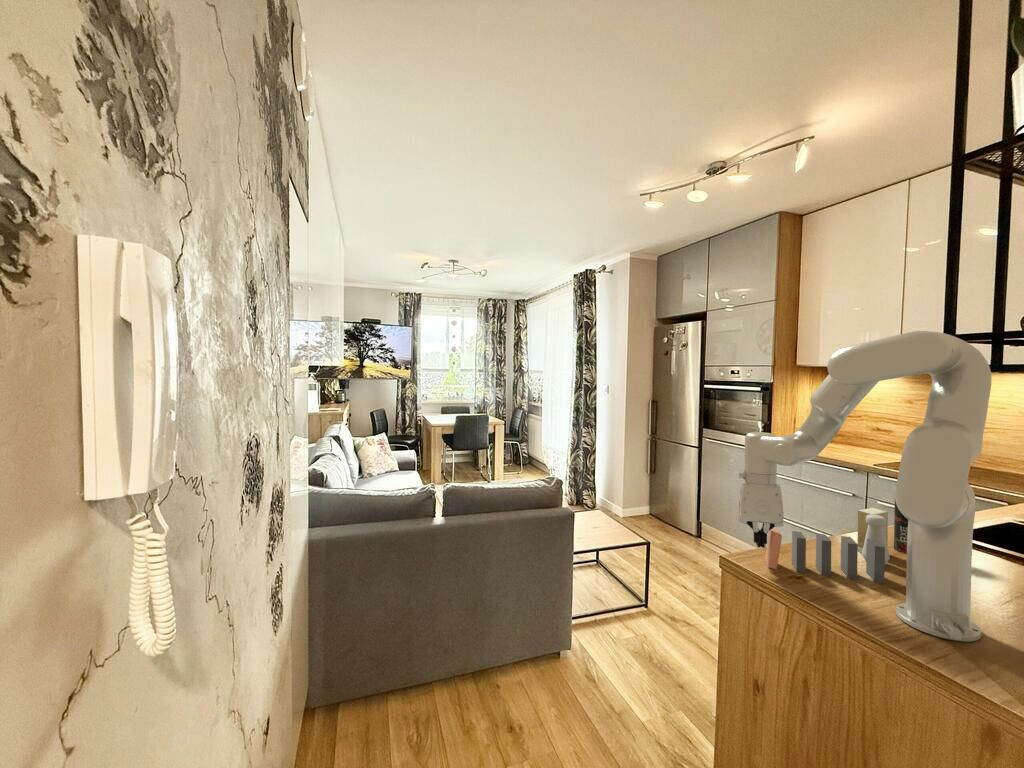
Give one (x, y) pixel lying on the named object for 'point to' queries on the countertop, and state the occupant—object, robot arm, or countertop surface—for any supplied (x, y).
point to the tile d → (875, 560)
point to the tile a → (799, 551)
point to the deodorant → (900, 531)
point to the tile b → (823, 554)
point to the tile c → (849, 557)
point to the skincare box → (864, 526)
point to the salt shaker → (876, 533)
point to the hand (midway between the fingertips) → (760, 545)
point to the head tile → (773, 548)
